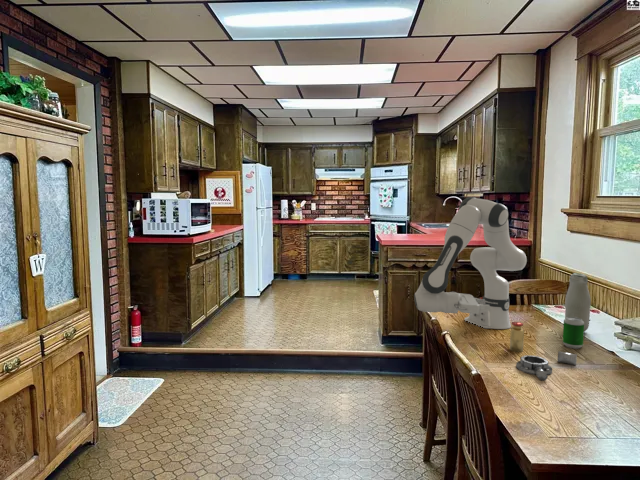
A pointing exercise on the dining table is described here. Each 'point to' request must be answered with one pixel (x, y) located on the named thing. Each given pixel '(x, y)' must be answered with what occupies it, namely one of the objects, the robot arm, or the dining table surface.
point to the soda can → (573, 332)
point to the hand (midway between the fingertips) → (487, 304)
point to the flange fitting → (534, 366)
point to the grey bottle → (578, 299)
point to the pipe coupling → (567, 358)
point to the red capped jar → (516, 337)
